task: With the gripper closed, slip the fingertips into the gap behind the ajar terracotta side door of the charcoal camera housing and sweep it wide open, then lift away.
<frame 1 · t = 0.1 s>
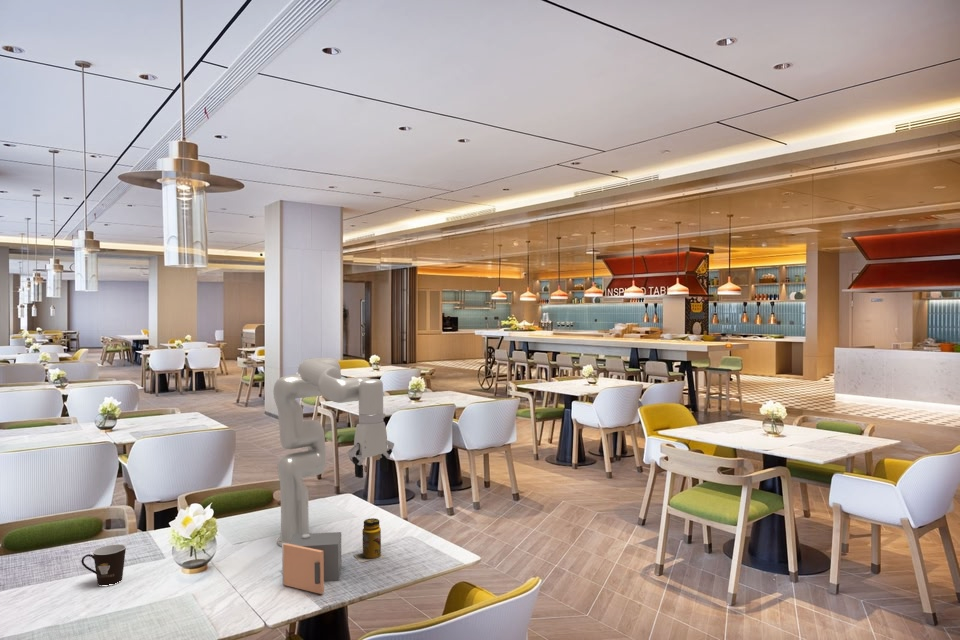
hand: (371, 474, 192), 31 cm above the table, tool pointing down, fingers open, 9 cm apart
coffee mug: (106, 582, 189), on the table
condiment: (369, 557, 207), on the table
door: (301, 568, 181), point 7 cm above the table, hinge at 35.0°
housing: (315, 574, 192), on the table
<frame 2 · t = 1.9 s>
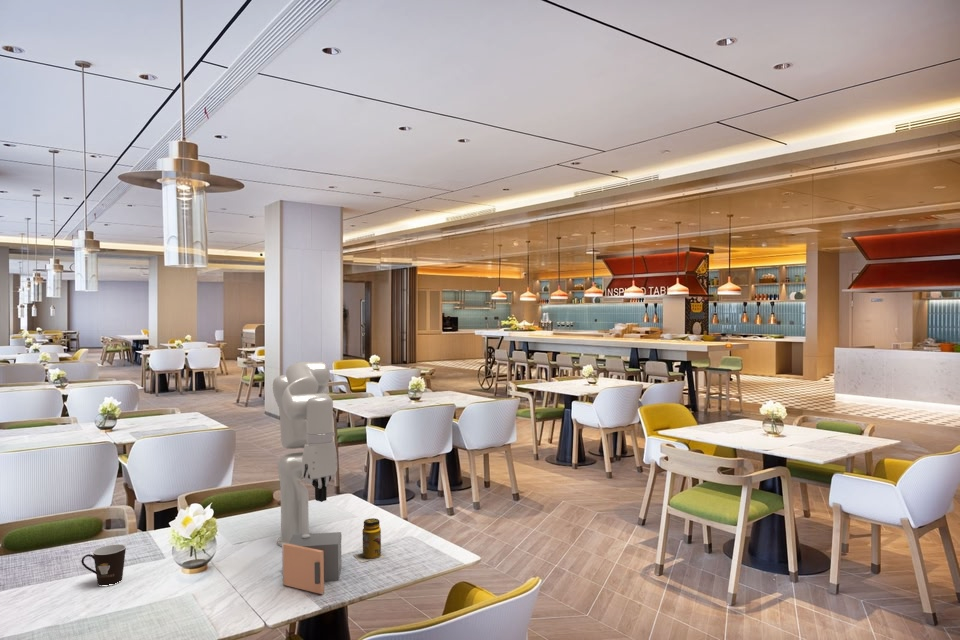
hand: (320, 500, 183), 26 cm above the table, tool pointing down, fingers closed
nothing on the table moved.
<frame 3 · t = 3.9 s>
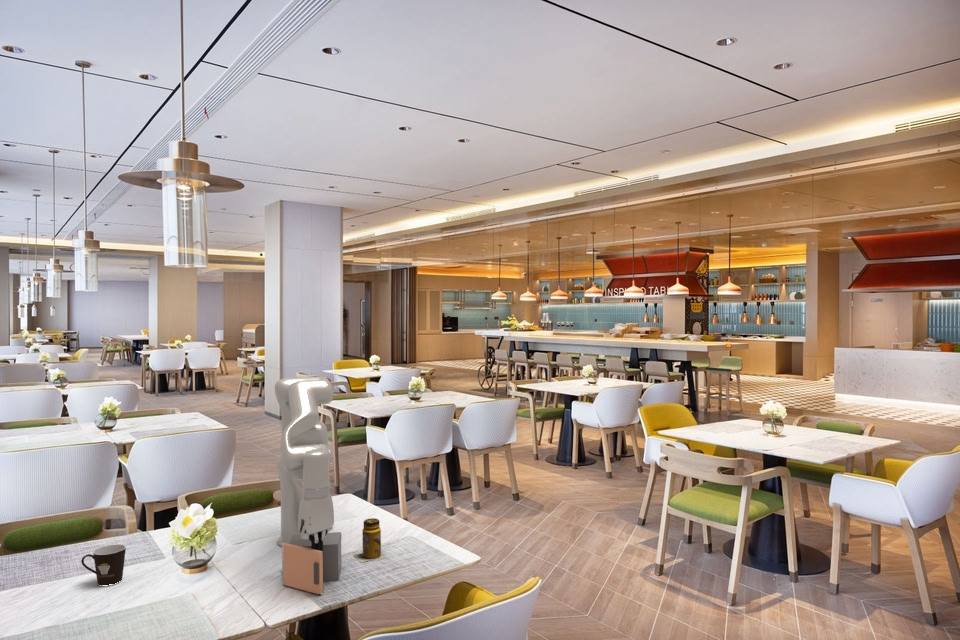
hand: (317, 554, 182), 10 cm above the table, tool pointing down, fingers closed
door: (300, 568, 181), point 6 cm above the table, hinge at 36.5°, touching gripper
everything else where it was.
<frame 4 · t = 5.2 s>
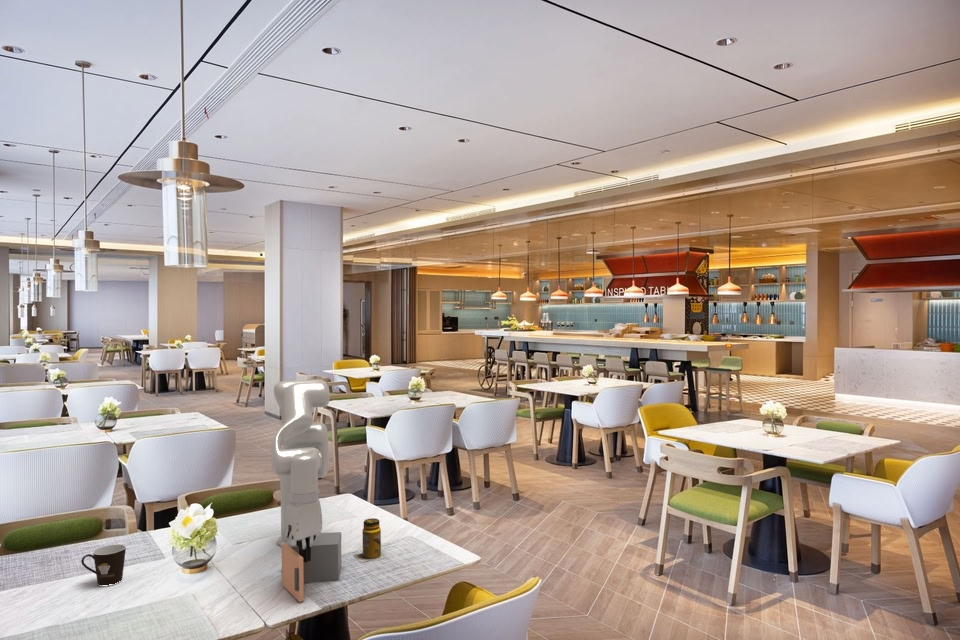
hand: (305, 560, 178), 10 cm above the table, tool pointing down, fingers closed
door: (290, 571, 179), point 7 cm above the table, hinge at 61.2°, touching gripper
everything else where it was.
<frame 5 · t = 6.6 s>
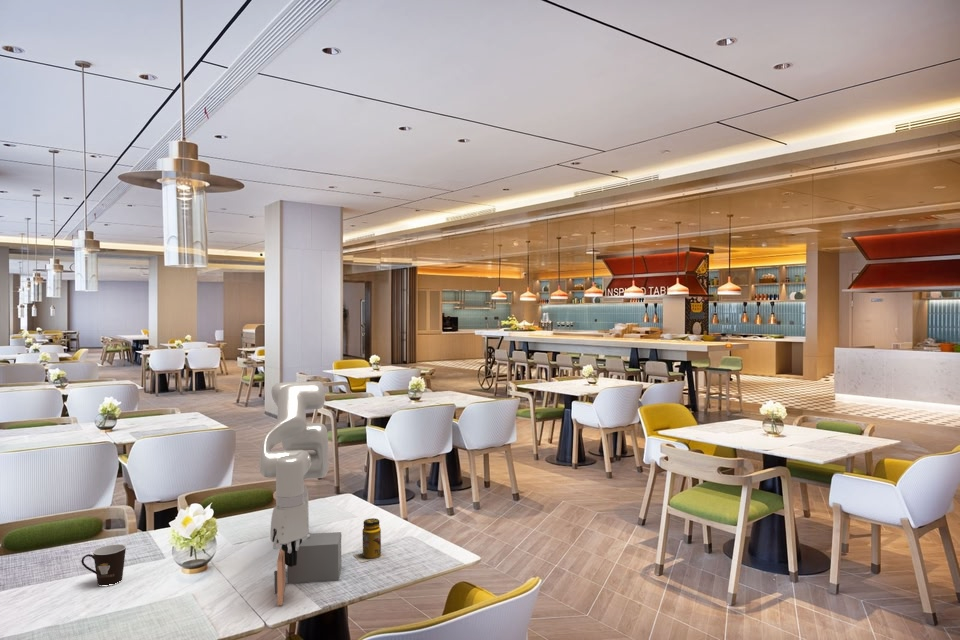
hand: (290, 564, 175), 10 cm above the table, tool pointing down, fingers closed
door: (280, 572, 178), point 7 cm above the table, hinge at 83.7°
everything else where it was.
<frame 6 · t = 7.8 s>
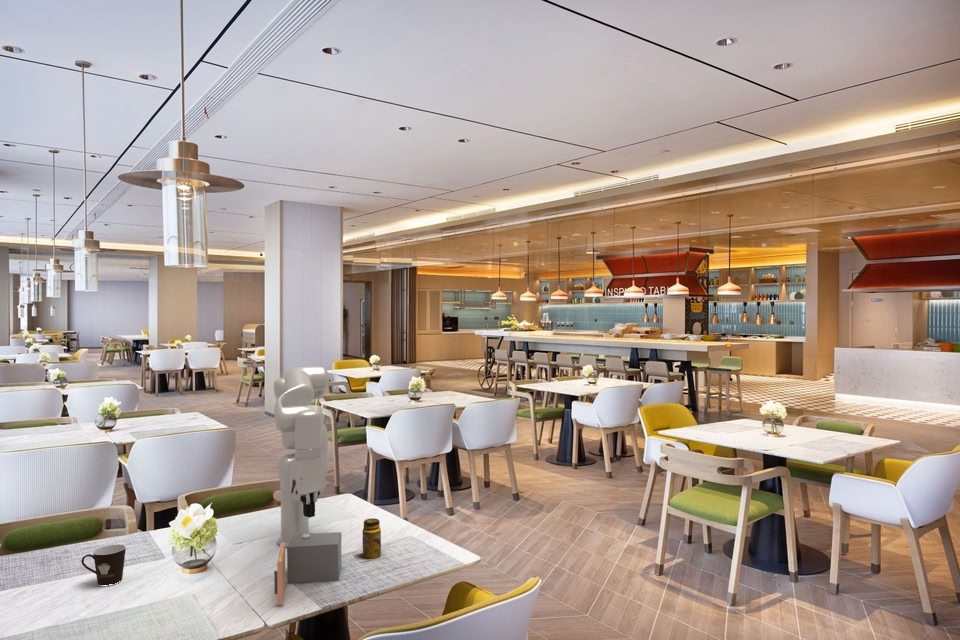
hand: (309, 516, 179), 22 cm above the table, tool pointing down, fingers closed
nothing on the table moved.
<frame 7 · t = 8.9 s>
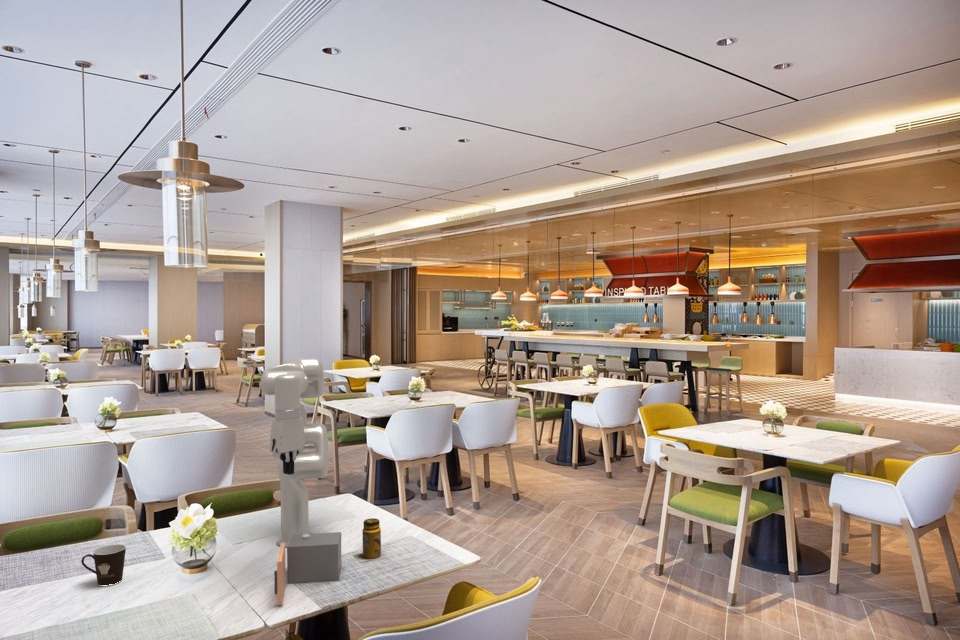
hand: (288, 473, 190), 32 cm above the table, tool pointing down, fingers closed
nothing on the table moved.
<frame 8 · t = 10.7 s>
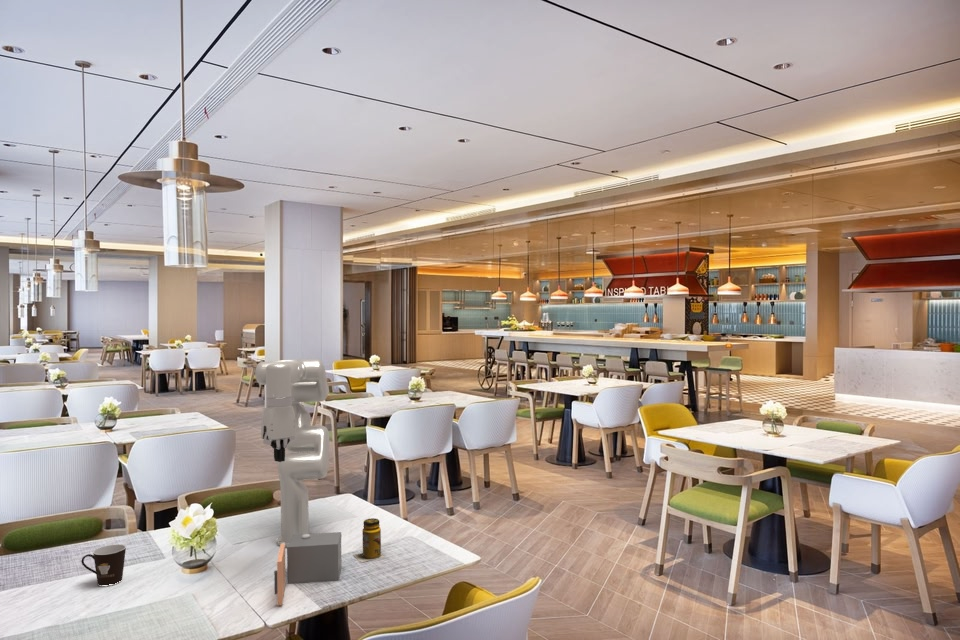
hand: (279, 460, 194), 35 cm above the table, tool pointing down, fingers closed
nothing on the table moved.
at the end: door at +84° (first picture: +35°) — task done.
